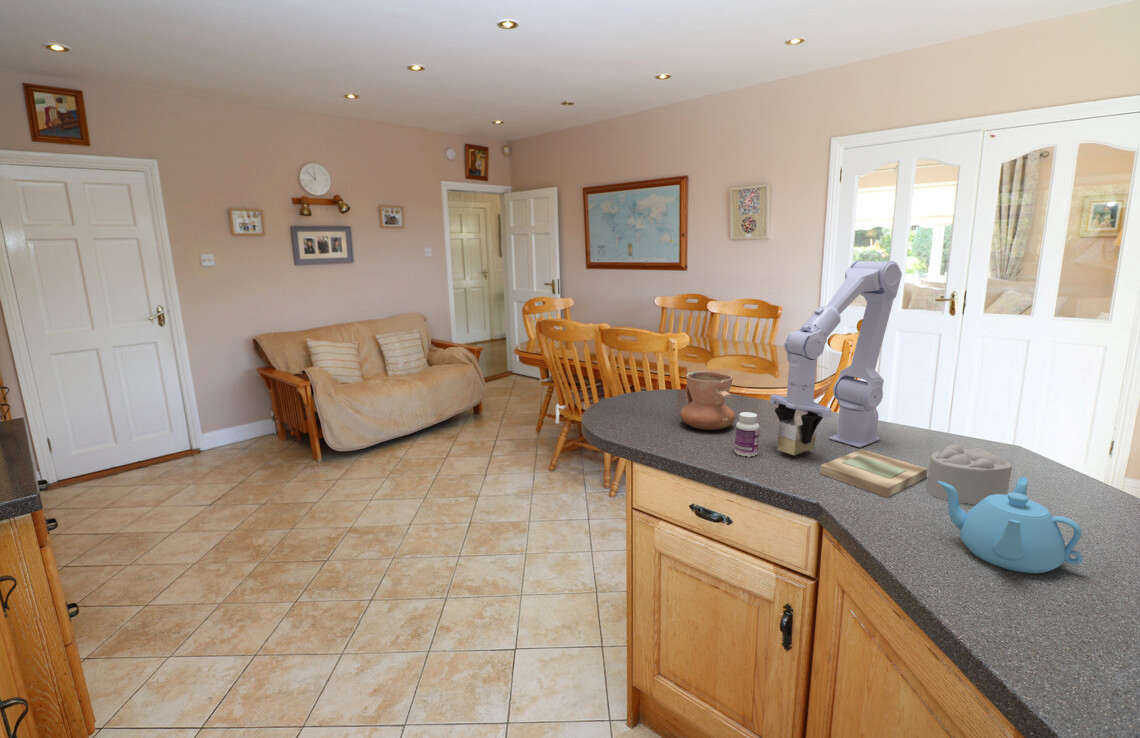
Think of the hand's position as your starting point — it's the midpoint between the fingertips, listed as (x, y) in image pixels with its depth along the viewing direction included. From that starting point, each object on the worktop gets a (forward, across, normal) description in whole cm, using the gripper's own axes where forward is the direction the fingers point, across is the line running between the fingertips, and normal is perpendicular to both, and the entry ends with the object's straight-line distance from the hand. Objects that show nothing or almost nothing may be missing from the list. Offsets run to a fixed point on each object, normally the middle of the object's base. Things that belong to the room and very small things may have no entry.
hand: (796, 439), depth 128 cm
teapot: (+4, +44, -11) cm, 46 cm away
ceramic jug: (+4, -27, -1) cm, 27 cm away
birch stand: (+3, +17, +2) cm, 17 cm away
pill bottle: (+4, -7, -9) cm, 12 cm away
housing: (+2, 0, 0) cm, 2 cm away
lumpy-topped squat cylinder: (+4, +31, +8) cm, 33 cm away
